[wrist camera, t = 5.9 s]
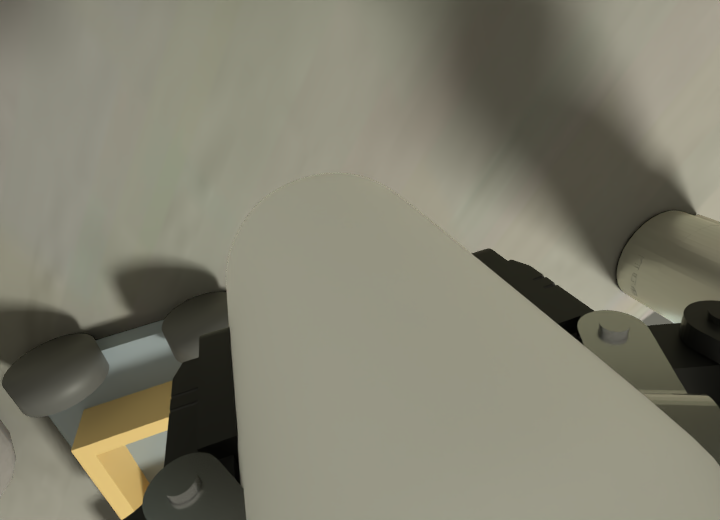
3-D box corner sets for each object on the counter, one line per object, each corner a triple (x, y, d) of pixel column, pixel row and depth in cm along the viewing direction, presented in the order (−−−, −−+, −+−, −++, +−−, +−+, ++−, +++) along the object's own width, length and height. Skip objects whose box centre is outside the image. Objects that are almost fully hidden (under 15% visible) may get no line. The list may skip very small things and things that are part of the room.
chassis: (237, 284, 31) (243, 323, 27) (301, 465, 41) (313, 515, 36) (19, 349, 28) (-13, 404, 24) (143, 527, 38) (136, 589, 34)
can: (308, 122, 12) (787, 519, 2) (453, 238, 16) (929, 622, 5) (182, 297, 14) (104, 1106, 3) (341, 371, 17) (555, 902, 6)
